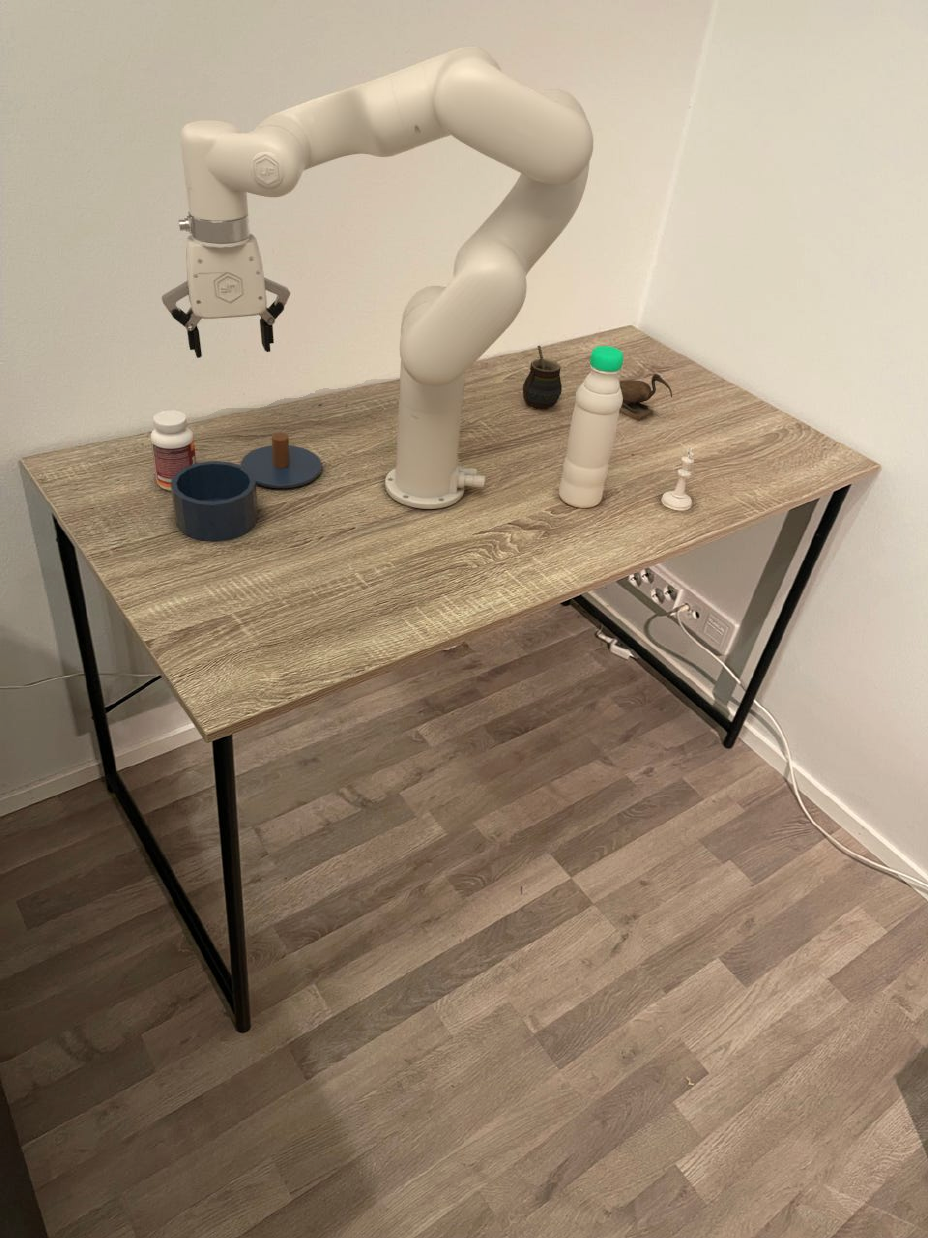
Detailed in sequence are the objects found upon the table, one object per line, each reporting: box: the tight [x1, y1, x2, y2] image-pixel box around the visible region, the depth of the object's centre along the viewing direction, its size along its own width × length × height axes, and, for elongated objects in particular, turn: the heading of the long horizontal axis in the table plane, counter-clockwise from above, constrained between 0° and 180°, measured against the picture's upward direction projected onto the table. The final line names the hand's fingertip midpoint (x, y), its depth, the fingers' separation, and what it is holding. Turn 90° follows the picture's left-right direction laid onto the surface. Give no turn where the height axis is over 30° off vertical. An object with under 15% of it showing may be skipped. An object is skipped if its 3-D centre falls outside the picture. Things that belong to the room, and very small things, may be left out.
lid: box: [240, 432, 322, 489], centre depth 147 cm, size 13×13×6 cm
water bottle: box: [558, 345, 624, 509], centre depth 142 cm, size 7×7×25 cm
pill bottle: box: [150, 409, 197, 492], centre depth 140 cm, size 6×6×11 cm
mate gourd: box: [522, 345, 563, 411], centre depth 172 cm, size 7×8×10 cm
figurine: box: [619, 373, 673, 421], centre depth 173 cm, size 14×4×9 cm, turn 46°
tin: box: [171, 460, 259, 542], centre depth 135 cm, size 12×12×6 cm
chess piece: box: [660, 447, 695, 512], centre depth 149 cm, size 5×5×10 cm
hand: (232, 350), depth 134 cm, fingers open, 9 cm apart
